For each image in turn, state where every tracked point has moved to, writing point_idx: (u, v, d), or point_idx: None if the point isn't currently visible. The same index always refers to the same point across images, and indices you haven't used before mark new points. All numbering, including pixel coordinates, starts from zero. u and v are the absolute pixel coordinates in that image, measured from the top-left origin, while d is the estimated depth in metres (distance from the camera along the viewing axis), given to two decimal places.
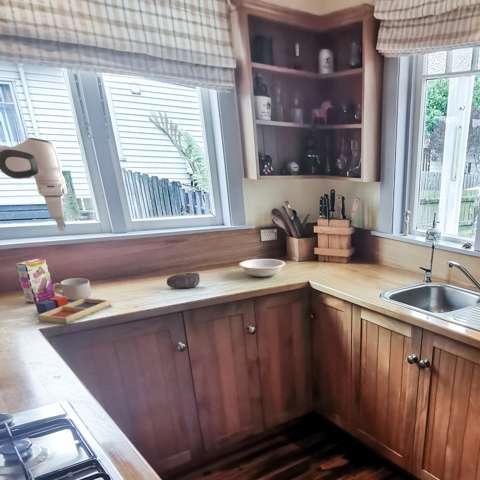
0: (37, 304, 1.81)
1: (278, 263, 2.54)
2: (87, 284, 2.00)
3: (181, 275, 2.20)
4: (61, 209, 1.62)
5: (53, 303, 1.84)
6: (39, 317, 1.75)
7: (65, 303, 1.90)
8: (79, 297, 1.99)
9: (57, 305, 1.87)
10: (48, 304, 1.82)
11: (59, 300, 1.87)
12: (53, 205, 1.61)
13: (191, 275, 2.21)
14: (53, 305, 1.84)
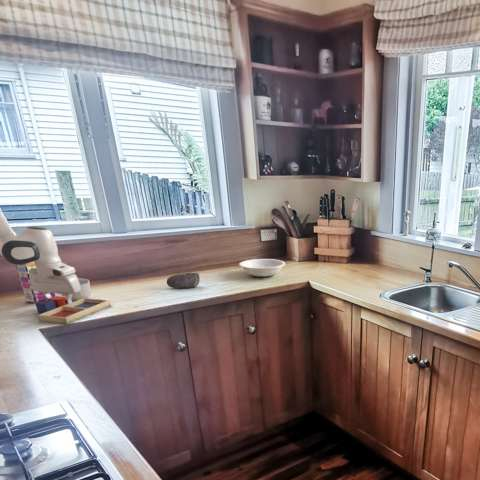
0: (37, 304, 1.81)
1: (278, 263, 2.54)
2: (87, 284, 2.00)
3: (181, 275, 2.20)
4: (79, 284, 1.86)
5: (53, 303, 1.84)
6: (39, 317, 1.75)
7: (65, 303, 1.90)
8: (79, 297, 1.99)
9: (57, 305, 1.87)
10: (48, 304, 1.82)
11: (59, 300, 1.87)
12: (74, 282, 1.83)
13: (191, 275, 2.21)
14: (53, 305, 1.84)
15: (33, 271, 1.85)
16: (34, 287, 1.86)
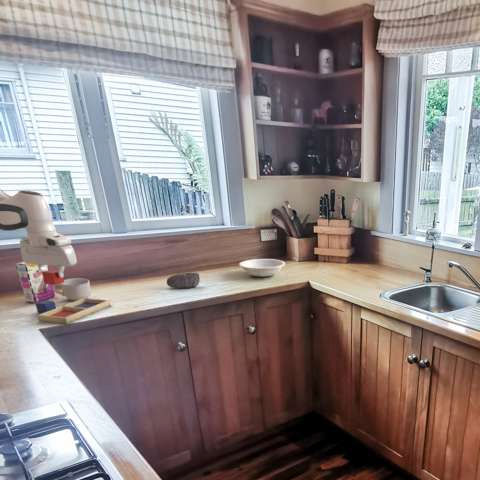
0: (37, 304, 1.81)
1: (278, 263, 2.54)
2: (87, 284, 2.00)
3: (181, 275, 2.20)
4: (75, 256, 1.71)
5: (53, 303, 1.84)
6: (39, 317, 1.75)
7: None
8: (79, 297, 1.99)
9: (52, 279, 1.72)
10: (48, 304, 1.82)
11: (54, 274, 1.72)
12: (69, 254, 1.69)
13: (191, 275, 2.21)
14: (53, 305, 1.84)
15: (25, 241, 1.70)
16: (25, 259, 1.71)
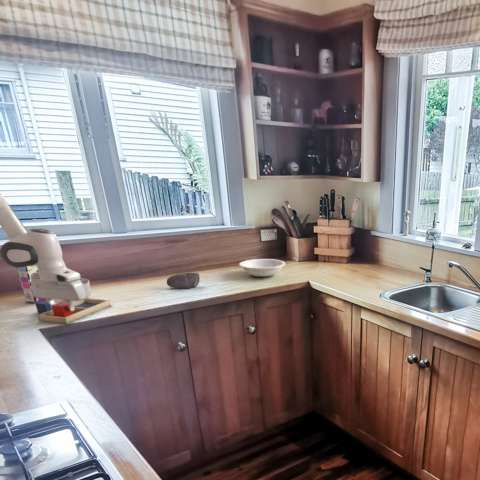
0: (37, 304, 1.81)
1: (278, 263, 2.54)
2: (87, 284, 2.00)
3: (181, 275, 2.20)
4: (84, 291, 1.75)
5: None
6: (39, 317, 1.75)
7: None
8: None
9: (61, 312, 1.76)
10: (48, 304, 1.82)
11: (63, 307, 1.76)
12: (79, 289, 1.73)
13: (191, 275, 2.21)
14: None
15: (35, 276, 1.74)
16: (36, 293, 1.76)
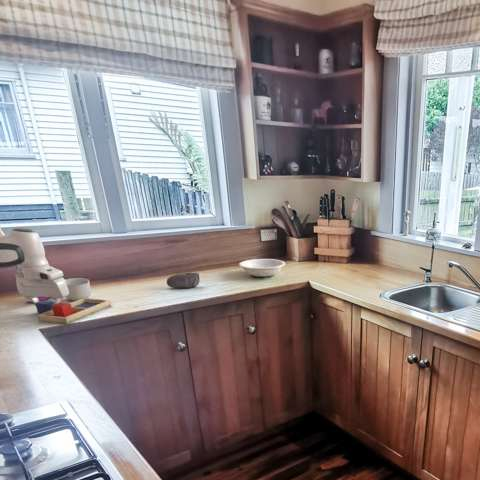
0: (37, 304, 1.81)
1: (278, 263, 2.54)
2: (87, 284, 2.00)
3: (181, 275, 2.20)
4: (67, 288, 1.80)
5: (53, 303, 1.84)
6: (39, 317, 1.75)
7: (70, 310, 1.79)
8: (79, 297, 1.99)
9: (61, 312, 1.76)
10: (48, 304, 1.82)
11: (63, 307, 1.76)
12: (62, 286, 1.78)
13: (191, 275, 2.21)
14: None
15: (20, 274, 1.79)
16: (21, 291, 1.81)
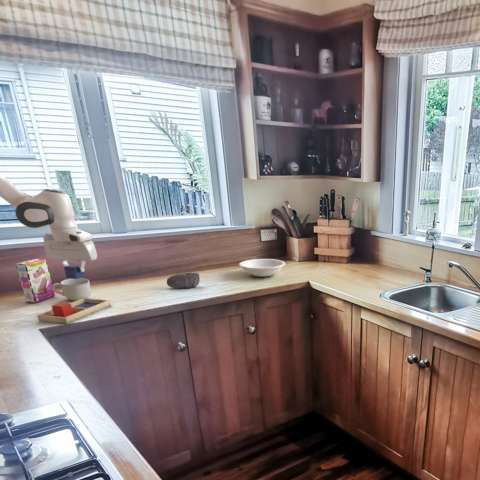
0: (66, 267, 1.81)
1: (278, 263, 2.54)
2: (87, 284, 2.00)
3: (181, 275, 2.20)
4: (95, 251, 1.80)
5: None
6: (39, 317, 1.75)
7: (70, 310, 1.79)
8: (79, 297, 1.99)
9: (61, 312, 1.76)
10: (77, 268, 1.82)
11: (63, 307, 1.76)
12: (90, 249, 1.78)
13: (191, 275, 2.21)
14: None
15: (48, 237, 1.79)
16: (49, 254, 1.80)
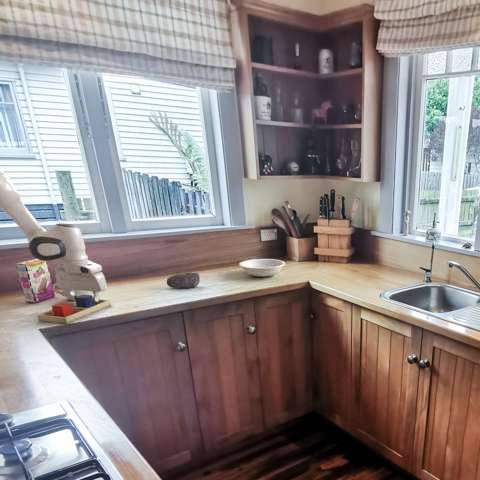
0: (76, 298, 1.86)
1: (278, 263, 2.54)
2: None
3: (181, 275, 2.20)
4: (105, 282, 1.86)
5: (91, 297, 1.89)
6: (39, 317, 1.75)
7: (70, 310, 1.79)
8: None
9: (61, 312, 1.76)
10: (87, 298, 1.87)
11: (63, 307, 1.76)
12: (100, 280, 1.83)
13: (191, 275, 2.21)
14: (91, 299, 1.89)
15: (59, 268, 1.84)
16: (60, 284, 1.86)
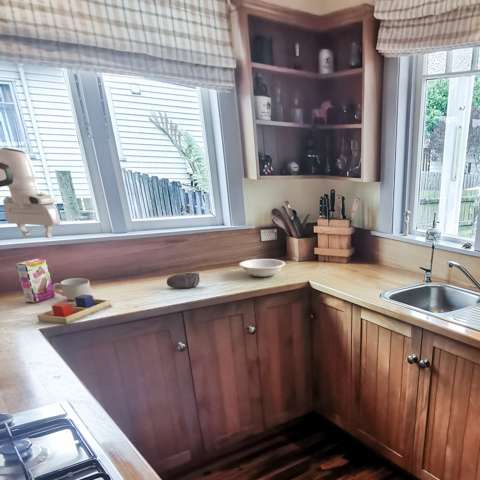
0: (76, 298, 1.86)
1: (278, 263, 2.54)
2: (87, 284, 2.00)
3: (181, 275, 2.20)
4: (58, 216, 1.71)
5: (91, 297, 1.89)
6: (39, 317, 1.75)
7: (70, 310, 1.79)
8: None
9: (61, 312, 1.76)
10: (87, 298, 1.87)
11: (63, 307, 1.76)
12: (52, 213, 1.69)
13: (191, 275, 2.21)
14: (91, 299, 1.89)
15: (8, 200, 1.70)
16: (9, 218, 1.72)
